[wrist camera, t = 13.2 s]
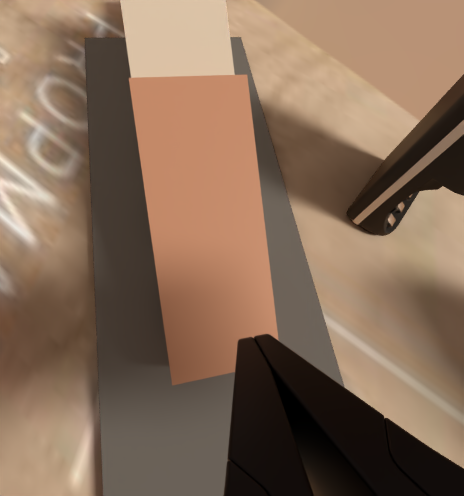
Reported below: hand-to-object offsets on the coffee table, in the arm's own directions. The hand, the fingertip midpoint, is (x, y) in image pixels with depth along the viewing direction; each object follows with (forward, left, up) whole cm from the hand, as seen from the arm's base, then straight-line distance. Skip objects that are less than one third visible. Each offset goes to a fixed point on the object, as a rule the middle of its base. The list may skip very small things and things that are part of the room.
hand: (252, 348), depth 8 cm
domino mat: (+9, -2, -9) cm, 13 cm away
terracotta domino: (0, 0, -7) cm, 7 cm away
